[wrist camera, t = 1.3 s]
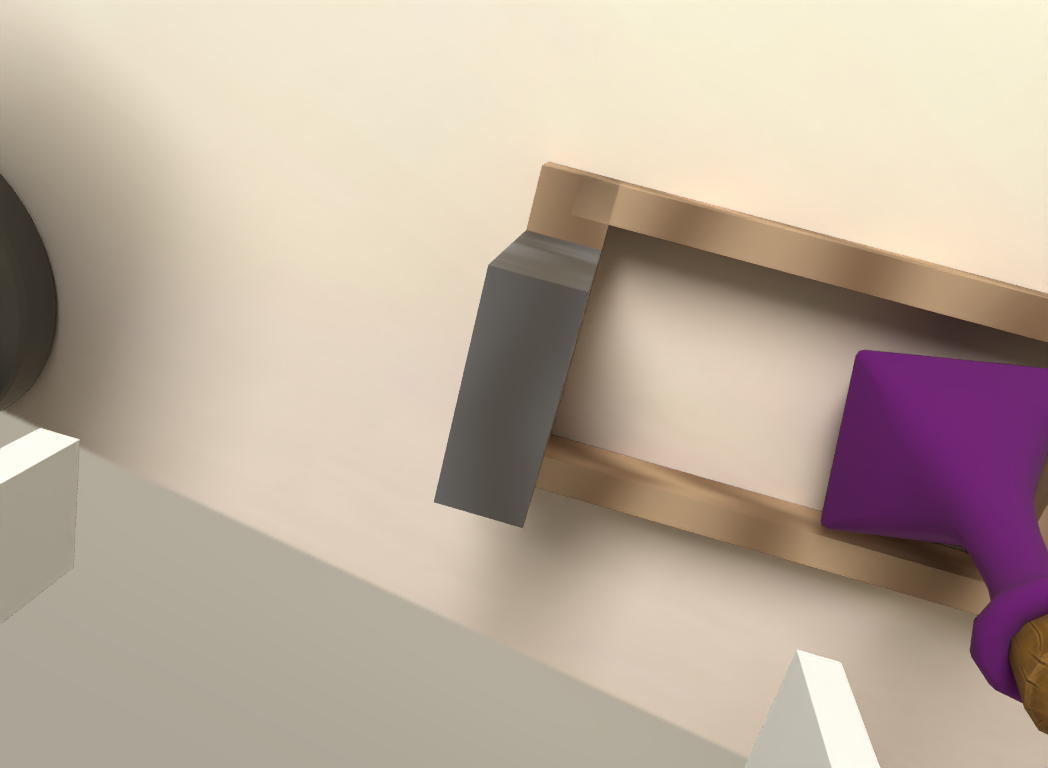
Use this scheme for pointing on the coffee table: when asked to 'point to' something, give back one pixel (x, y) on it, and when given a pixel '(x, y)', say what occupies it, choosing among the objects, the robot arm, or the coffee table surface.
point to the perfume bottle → (957, 490)
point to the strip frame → (652, 490)
